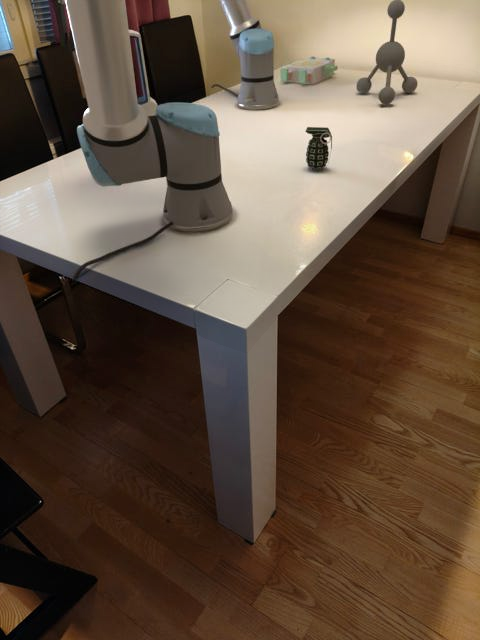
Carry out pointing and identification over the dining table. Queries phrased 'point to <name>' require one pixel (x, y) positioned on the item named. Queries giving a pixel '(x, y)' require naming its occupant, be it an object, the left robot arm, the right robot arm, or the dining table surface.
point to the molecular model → (390, 60)
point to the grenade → (318, 147)
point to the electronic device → (143, 77)
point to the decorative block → (308, 70)
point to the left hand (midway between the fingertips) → (100, 78)
